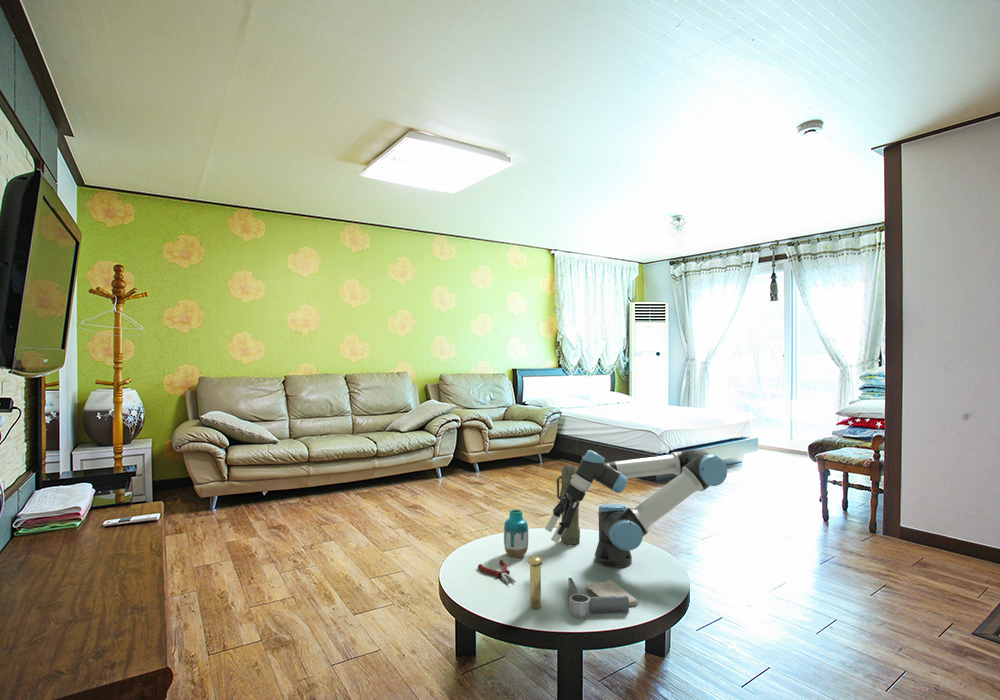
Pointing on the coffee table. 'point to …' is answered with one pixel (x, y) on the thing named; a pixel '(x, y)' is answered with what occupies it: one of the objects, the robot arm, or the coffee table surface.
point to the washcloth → (609, 591)
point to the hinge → (594, 603)
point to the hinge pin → (535, 581)
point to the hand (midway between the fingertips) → (550, 535)
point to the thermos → (573, 532)
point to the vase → (516, 534)
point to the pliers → (498, 572)
